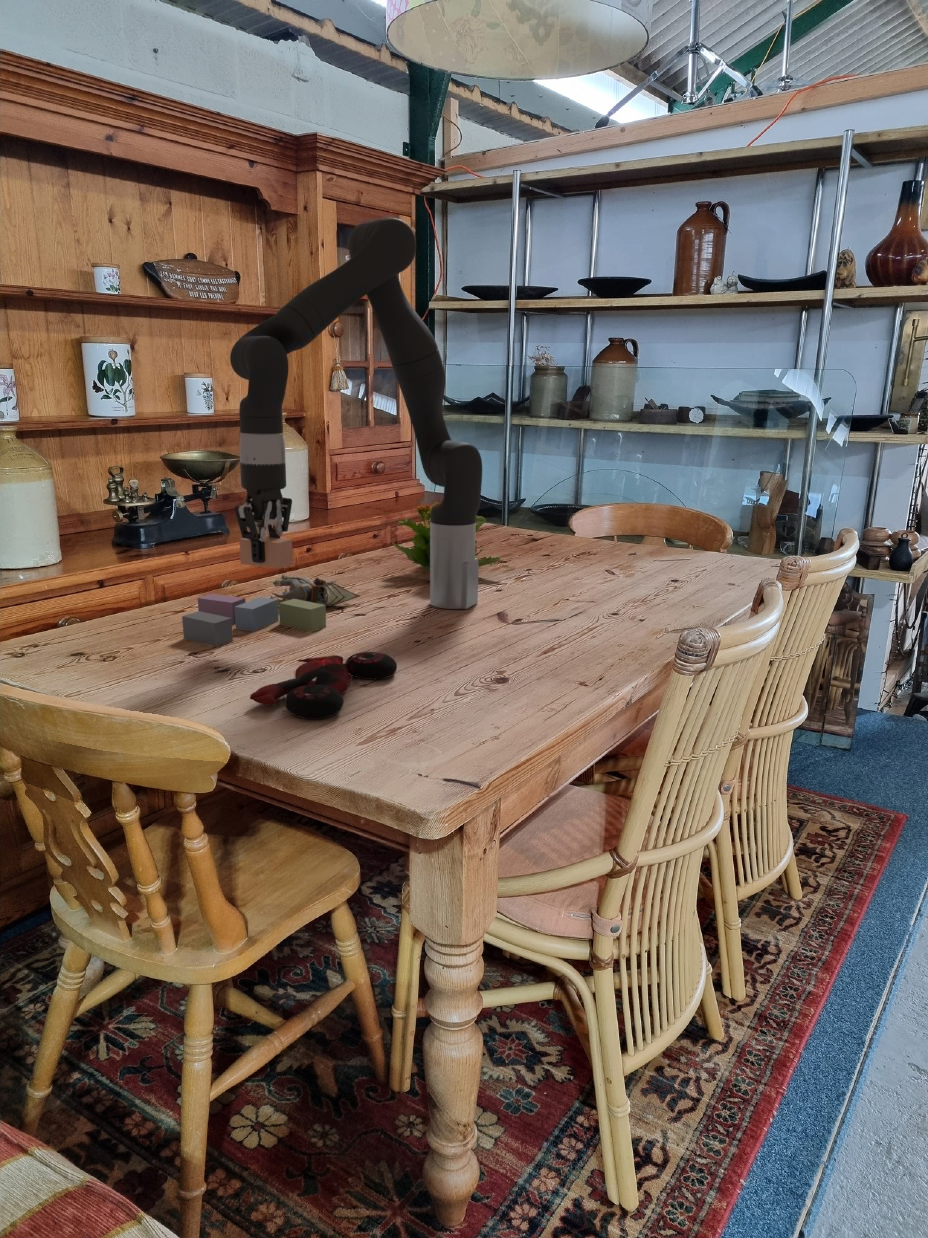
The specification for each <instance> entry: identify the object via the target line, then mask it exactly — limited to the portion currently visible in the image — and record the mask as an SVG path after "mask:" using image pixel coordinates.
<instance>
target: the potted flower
mask: <svg viewBox="0 0 928 1238" xmlns="http://www.w3.org/2000/svg"><path fill="white" fill-rule="evenodd" d="M439 504H440V502H437V501H436V502H434V503H433V504H432V505H429V504H425V506H424V505H423V504H420V506H419V505H418V506H416V512H418V514H419V515H420V516H417V518H418V519H419V520H421V521H422V522H423V523H422V522H418V523H417V522H415V521H413V520H412V519H407V518H405V519H403V520H404V521H402V520H398V523H397V525H402V526H405V527H408V528H410V529H411V530H412V531H413V532H414V533H415V534H414V535H413V538H412V541H411V542H412V544H413V546H414V547H411V548H408V547H404V546H402V545H401V546H400V545H399V544H397V543H395V542H391V544H392V545H393V546H394V547H395V548H396V549H398V550H399V551H400V552H402V553H404V554H405V555H406V558H407V559H408V560H409V561H410V562H411V563H412V564H418V565H420V566H421V567H423V568H425V569H427V570H429V571H430V529H431V509H432V508H433V507H434V506H436V505H439ZM480 521H481V522H480ZM478 522H480V523H478ZM485 522H487V518H485V517H484V516H481V515H480V516H479V515H477V514H476V533H477V532H478V531H479V530H480V529H481V527H482V526H483V525H484V524H485ZM427 526H428V527H427ZM477 542H478V540H477V539H475V557H477V556H478V555H479V554H480V553H482V552H483V551H484V549H485V548H482V549H480V550H479V551H478V550H477V548H478V547H477V546H476V545H477ZM478 560H479V562H478V567H482V566H487V565H490V564H493V563H497V562H498V563H499V562H500V561H501V562H502V561H504V559H501V558H500V557H498V556H496V557H492V556H489V557H486V556H483V557H481V559H480V558H478Z"/></svg>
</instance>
